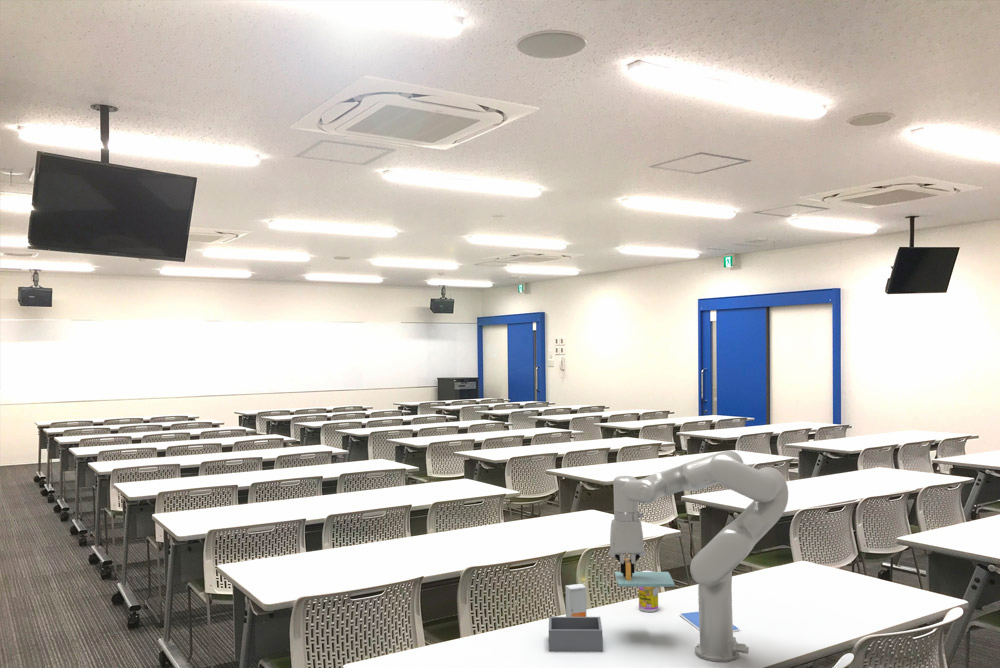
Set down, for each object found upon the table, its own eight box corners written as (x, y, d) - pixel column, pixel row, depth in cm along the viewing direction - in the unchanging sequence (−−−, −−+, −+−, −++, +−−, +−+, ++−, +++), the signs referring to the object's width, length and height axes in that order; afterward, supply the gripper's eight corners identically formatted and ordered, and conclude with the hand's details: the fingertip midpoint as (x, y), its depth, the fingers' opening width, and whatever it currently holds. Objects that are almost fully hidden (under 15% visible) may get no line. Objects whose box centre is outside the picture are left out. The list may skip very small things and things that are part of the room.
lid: (668, 576, 243) (668, 556, 243) (674, 588, 230) (674, 567, 230) (614, 576, 244) (614, 556, 244) (618, 588, 231) (617, 567, 231)
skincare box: (570, 625, 251) (569, 588, 251) (565, 621, 255) (564, 585, 256) (587, 623, 253) (586, 586, 253) (582, 619, 257) (581, 583, 257)
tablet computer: (741, 633, 242) (741, 629, 242) (705, 637, 239) (704, 633, 239) (712, 613, 261) (712, 609, 261) (678, 617, 258) (678, 613, 258)
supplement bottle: (635, 609, 265) (634, 572, 265) (646, 605, 269) (645, 568, 270) (651, 614, 260) (650, 576, 260) (662, 609, 265) (661, 572, 265)
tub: (600, 639, 238) (600, 616, 238) (603, 654, 226) (602, 630, 226) (549, 639, 239) (549, 616, 239) (549, 654, 227) (548, 630, 227)
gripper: (650, 513, 241) (651, 572, 241) (600, 513, 242) (601, 572, 242) (652, 518, 234) (654, 579, 233) (601, 519, 235) (603, 579, 234)
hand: (627, 575), depth 237 cm, fingers closed on lid, 1 cm apart
